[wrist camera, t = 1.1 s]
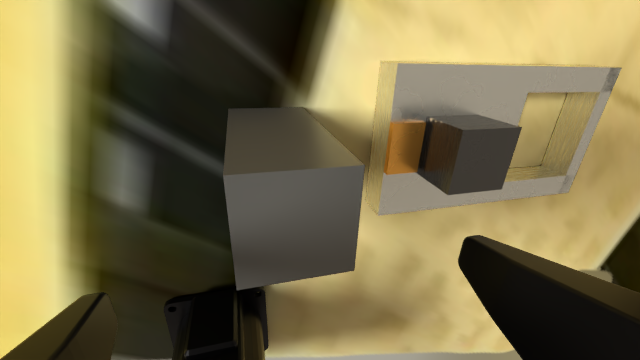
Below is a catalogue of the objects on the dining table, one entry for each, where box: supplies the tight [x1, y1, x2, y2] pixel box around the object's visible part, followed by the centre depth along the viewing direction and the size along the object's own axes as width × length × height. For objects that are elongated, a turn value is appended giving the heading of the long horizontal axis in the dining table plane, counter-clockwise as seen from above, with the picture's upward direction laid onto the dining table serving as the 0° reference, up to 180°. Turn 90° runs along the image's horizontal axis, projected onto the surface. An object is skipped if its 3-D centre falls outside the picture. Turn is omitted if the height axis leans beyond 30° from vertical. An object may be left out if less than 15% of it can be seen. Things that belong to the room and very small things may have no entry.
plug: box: [223, 107, 365, 290], centre depth 13 cm, size 4×4×9 cm
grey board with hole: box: [366, 61, 621, 216], centre depth 18 cm, size 9×16×5 cm, turn 88°
